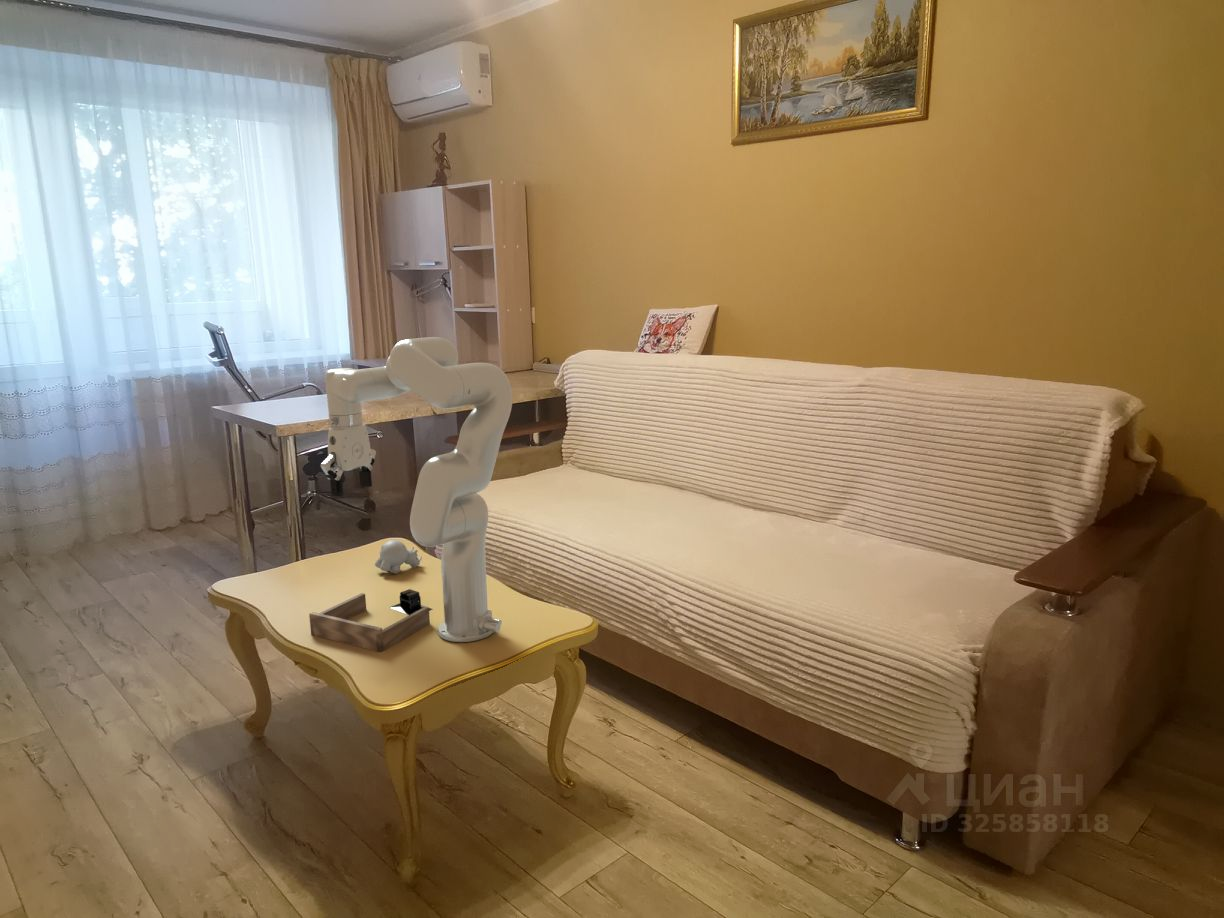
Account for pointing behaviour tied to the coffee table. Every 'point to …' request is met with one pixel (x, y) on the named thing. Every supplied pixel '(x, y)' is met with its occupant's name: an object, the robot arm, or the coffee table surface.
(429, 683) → the coffee table surface
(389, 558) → the white animal figurine
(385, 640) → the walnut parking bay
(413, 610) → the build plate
